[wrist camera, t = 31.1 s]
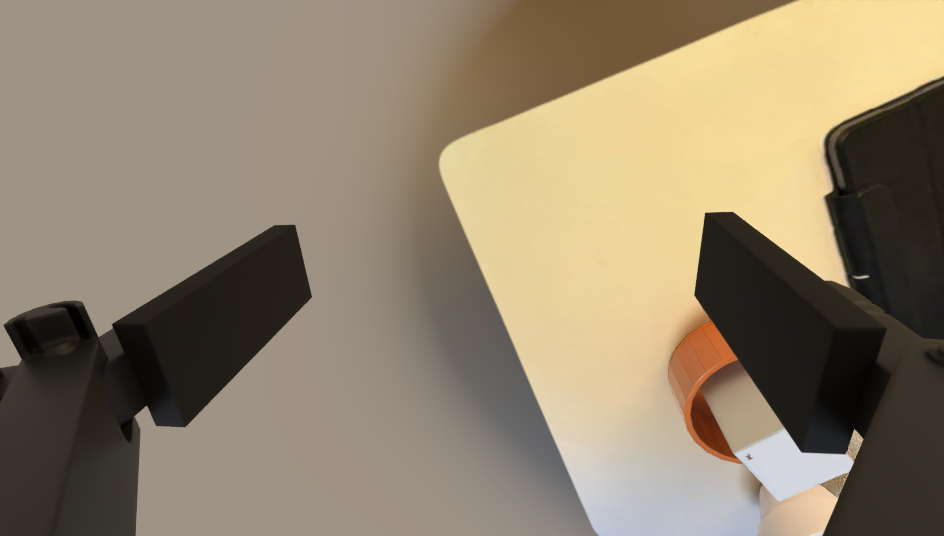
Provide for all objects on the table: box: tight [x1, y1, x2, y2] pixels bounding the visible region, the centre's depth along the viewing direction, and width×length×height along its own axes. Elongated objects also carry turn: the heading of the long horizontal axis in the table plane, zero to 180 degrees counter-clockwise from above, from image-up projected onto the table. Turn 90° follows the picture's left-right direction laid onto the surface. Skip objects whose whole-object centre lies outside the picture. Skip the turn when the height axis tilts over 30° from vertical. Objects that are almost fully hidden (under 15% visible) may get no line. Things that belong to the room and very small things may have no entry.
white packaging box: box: [699, 360, 854, 501], centre depth 45 cm, size 7×7×13 cm
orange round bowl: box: [668, 321, 743, 464], centre depth 48 cm, size 14×14×6 cm
